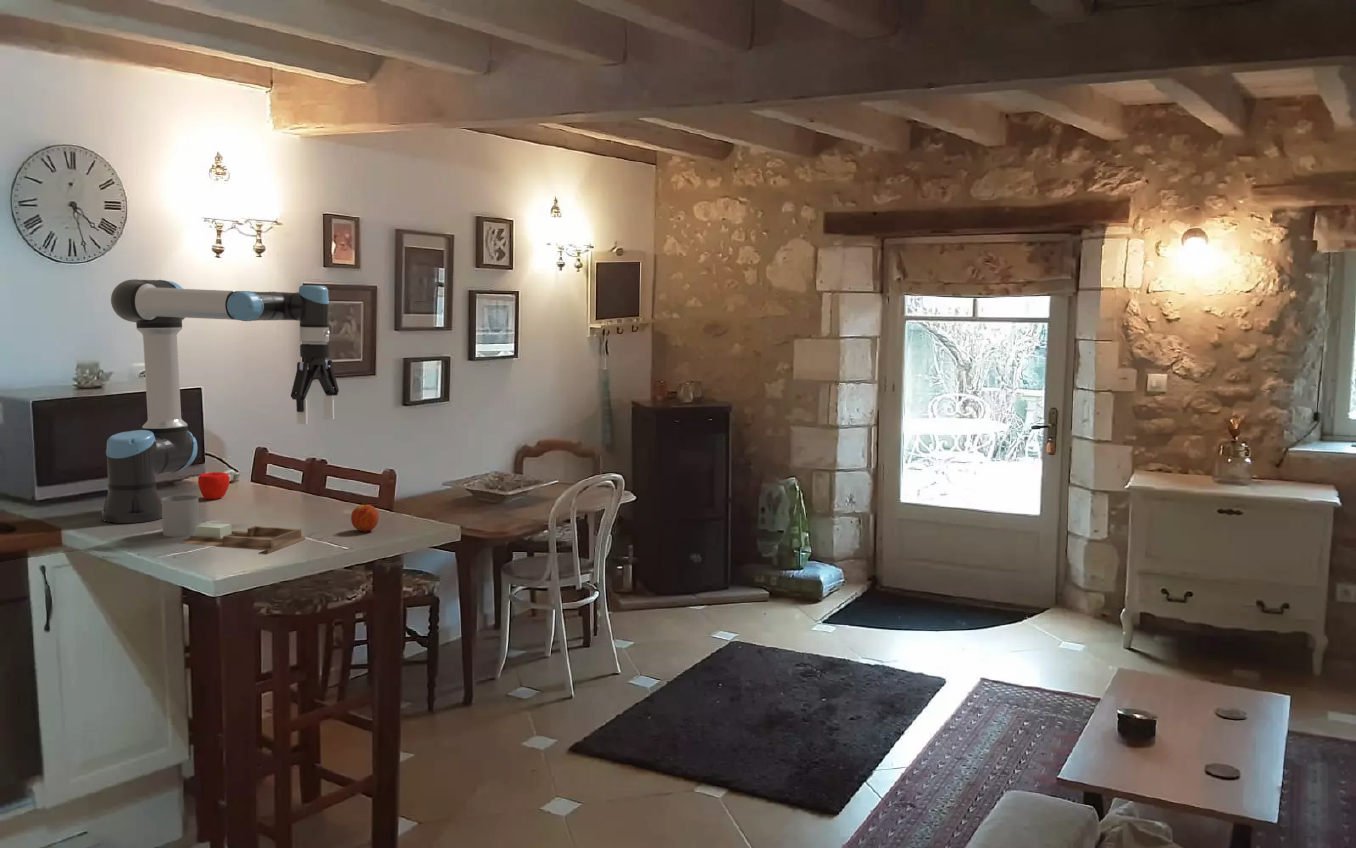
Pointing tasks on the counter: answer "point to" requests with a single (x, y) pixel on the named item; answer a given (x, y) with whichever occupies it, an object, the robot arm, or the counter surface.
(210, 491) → the apple
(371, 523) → the fruit
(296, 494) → the counter surface
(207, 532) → the pale green block
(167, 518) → the cup
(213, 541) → the jig
